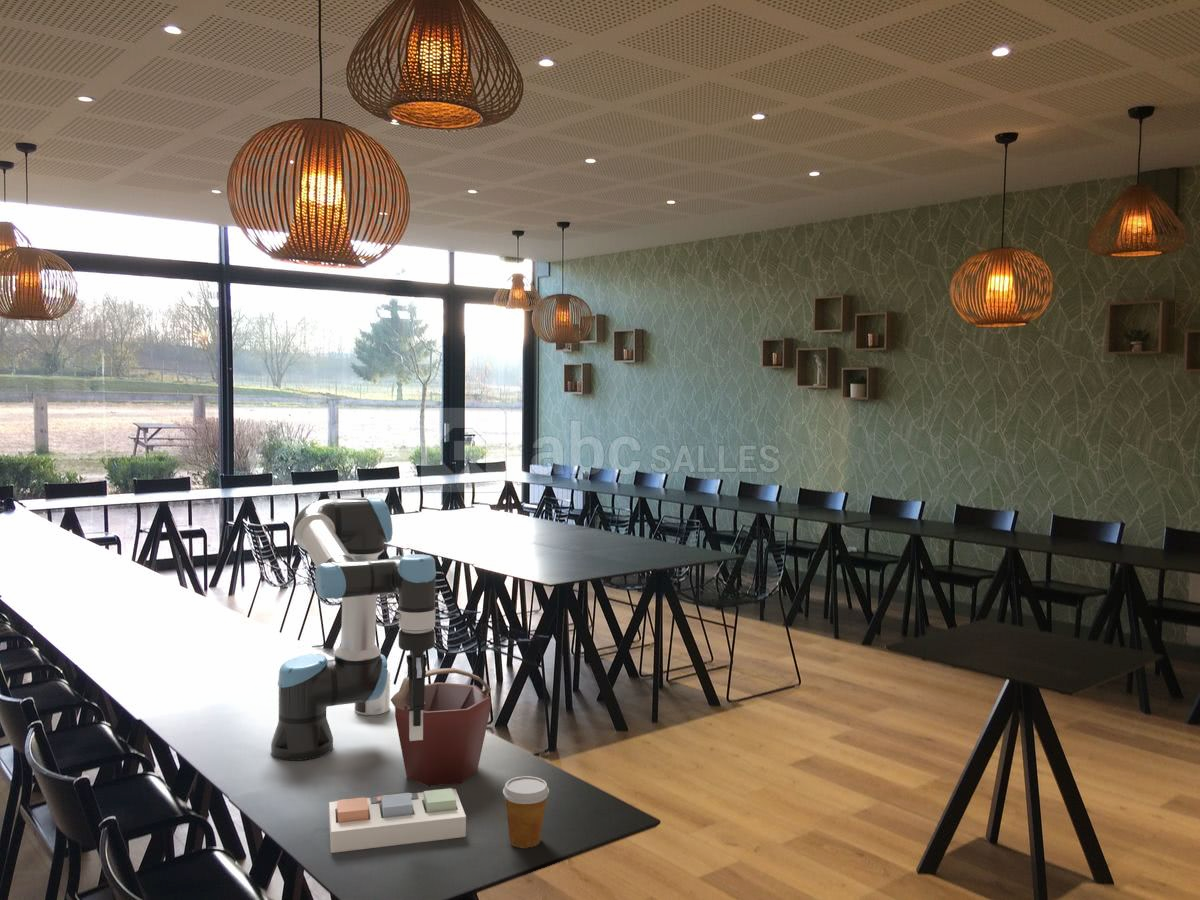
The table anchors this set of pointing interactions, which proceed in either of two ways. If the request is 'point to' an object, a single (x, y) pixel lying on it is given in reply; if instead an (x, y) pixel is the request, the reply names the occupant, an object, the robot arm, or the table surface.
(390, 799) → the slate key
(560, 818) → the table surface
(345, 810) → the terracotta key
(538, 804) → the disposable coffee cup
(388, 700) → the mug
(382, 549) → the robot arm
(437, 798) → the sage key
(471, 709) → the bucket
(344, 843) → the keypad
